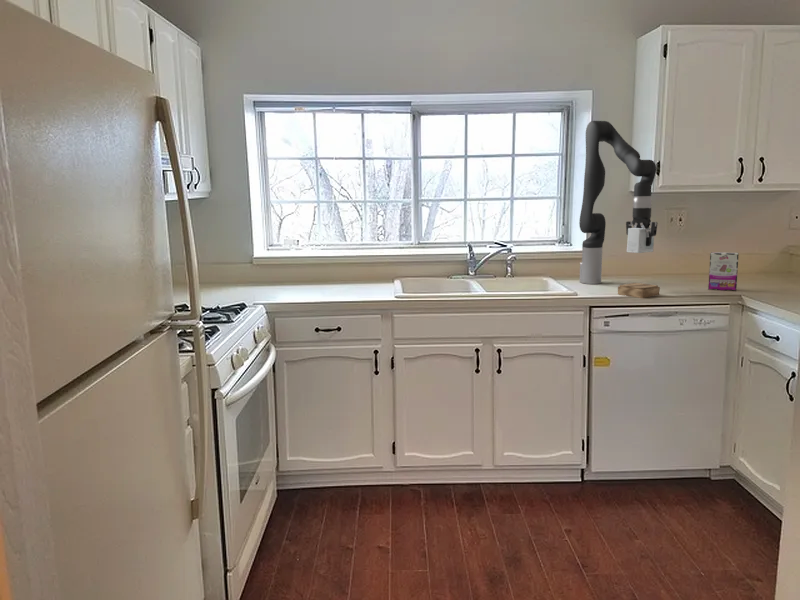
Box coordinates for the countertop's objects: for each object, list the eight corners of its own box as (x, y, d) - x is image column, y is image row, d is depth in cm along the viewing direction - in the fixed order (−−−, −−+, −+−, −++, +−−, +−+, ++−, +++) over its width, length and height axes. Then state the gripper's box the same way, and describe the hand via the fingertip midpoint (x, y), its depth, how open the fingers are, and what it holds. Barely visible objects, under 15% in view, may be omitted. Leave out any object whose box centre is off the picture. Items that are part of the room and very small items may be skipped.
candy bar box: (736, 289, 278) (739, 252, 275) (736, 291, 274) (739, 253, 271) (708, 288, 283) (710, 251, 280) (707, 289, 279) (710, 252, 276)
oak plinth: (617, 294, 271) (618, 285, 270) (634, 291, 278) (634, 282, 277) (642, 298, 261) (642, 288, 261) (659, 294, 268) (659, 285, 268)
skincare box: (639, 253, 269) (640, 228, 268) (626, 252, 275) (627, 228, 273) (654, 251, 275) (655, 227, 273) (641, 250, 280) (642, 227, 279)
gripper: (622, 207, 275) (621, 245, 278) (652, 207, 264) (650, 247, 266) (632, 206, 280) (631, 244, 282) (662, 206, 268) (660, 245, 271)
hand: (640, 245), depth 274 cm, fingers closed on skincare box, 6 cm apart
